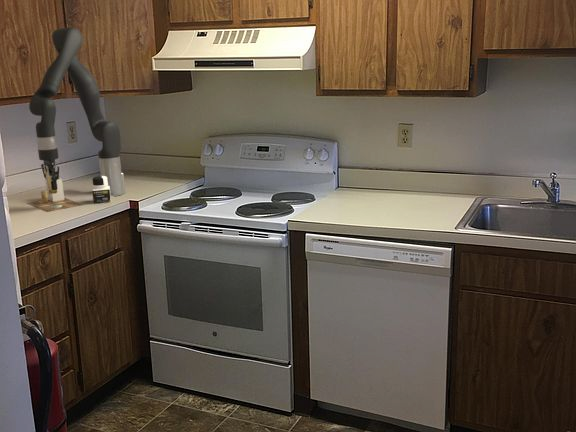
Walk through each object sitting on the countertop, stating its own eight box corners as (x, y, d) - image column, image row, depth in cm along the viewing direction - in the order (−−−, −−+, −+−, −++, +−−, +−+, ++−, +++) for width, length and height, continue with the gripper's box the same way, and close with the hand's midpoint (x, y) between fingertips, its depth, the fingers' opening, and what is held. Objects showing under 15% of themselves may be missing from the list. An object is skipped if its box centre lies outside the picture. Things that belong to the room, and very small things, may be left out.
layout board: (62, 199, 287) (60, 185, 285) (85, 207, 269) (83, 193, 268) (25, 205, 277) (23, 191, 275) (47, 214, 259) (45, 199, 257)
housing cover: (59, 197, 285) (56, 175, 282) (64, 199, 280) (61, 177, 278) (48, 199, 282) (44, 177, 279) (53, 201, 277) (50, 178, 275)
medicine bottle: (93, 206, 270) (90, 178, 267) (94, 203, 277) (90, 175, 274) (111, 205, 272) (108, 177, 269) (111, 201, 278) (108, 174, 275)
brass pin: (55, 191, 267) (52, 170, 265) (58, 192, 265) (55, 171, 263) (47, 193, 265) (45, 171, 263) (50, 194, 263) (48, 172, 261)
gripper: (63, 148, 258) (68, 190, 262) (50, 145, 268) (55, 185, 272) (45, 150, 253) (50, 193, 257) (32, 147, 263) (37, 188, 268)
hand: (52, 189), depth 265 cm, fingers closed on brass pin, 3 cm apart
